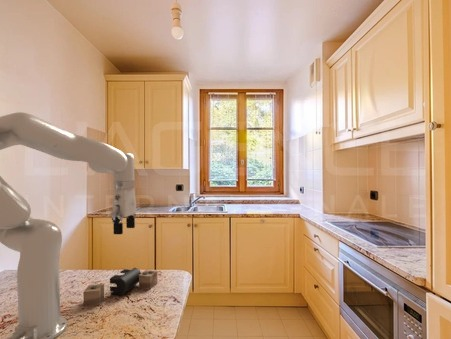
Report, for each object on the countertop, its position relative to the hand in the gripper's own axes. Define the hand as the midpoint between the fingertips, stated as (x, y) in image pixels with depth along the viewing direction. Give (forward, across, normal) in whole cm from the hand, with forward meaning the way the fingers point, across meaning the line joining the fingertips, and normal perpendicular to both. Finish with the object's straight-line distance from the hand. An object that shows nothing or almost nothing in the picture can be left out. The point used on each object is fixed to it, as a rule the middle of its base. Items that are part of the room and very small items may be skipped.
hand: (124, 230), depth 96 cm
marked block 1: (+22, -9, +7) cm, 25 cm away
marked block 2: (+22, +4, -8) cm, 24 cm away
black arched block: (+23, 0, 0) cm, 23 cm away
